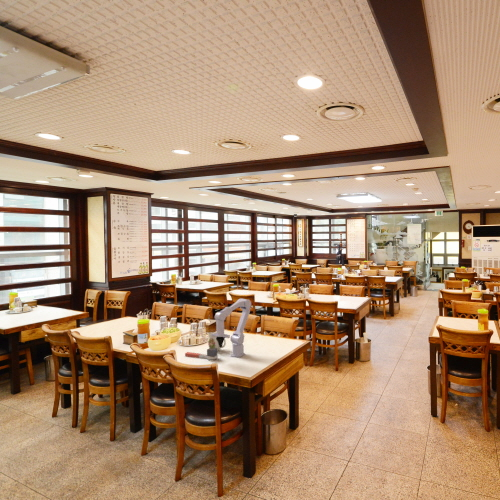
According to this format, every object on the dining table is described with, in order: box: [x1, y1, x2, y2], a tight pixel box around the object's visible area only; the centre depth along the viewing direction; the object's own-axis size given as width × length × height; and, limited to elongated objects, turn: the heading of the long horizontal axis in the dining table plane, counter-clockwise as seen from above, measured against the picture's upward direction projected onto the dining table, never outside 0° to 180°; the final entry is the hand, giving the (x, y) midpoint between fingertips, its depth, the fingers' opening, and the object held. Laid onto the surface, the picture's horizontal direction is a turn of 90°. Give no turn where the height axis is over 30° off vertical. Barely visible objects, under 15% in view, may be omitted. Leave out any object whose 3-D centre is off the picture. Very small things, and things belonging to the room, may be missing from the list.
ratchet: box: [184, 351, 218, 361], centre depth 264 cm, size 27×8×6 cm, turn 67°
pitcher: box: [205, 331, 227, 352], centre depth 281 cm, size 11×18×14 cm, turn 66°
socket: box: [206, 347, 218, 357], centre depth 261 cm, size 6×6×5 cm
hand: (220, 346), depth 256 cm, fingers closed
